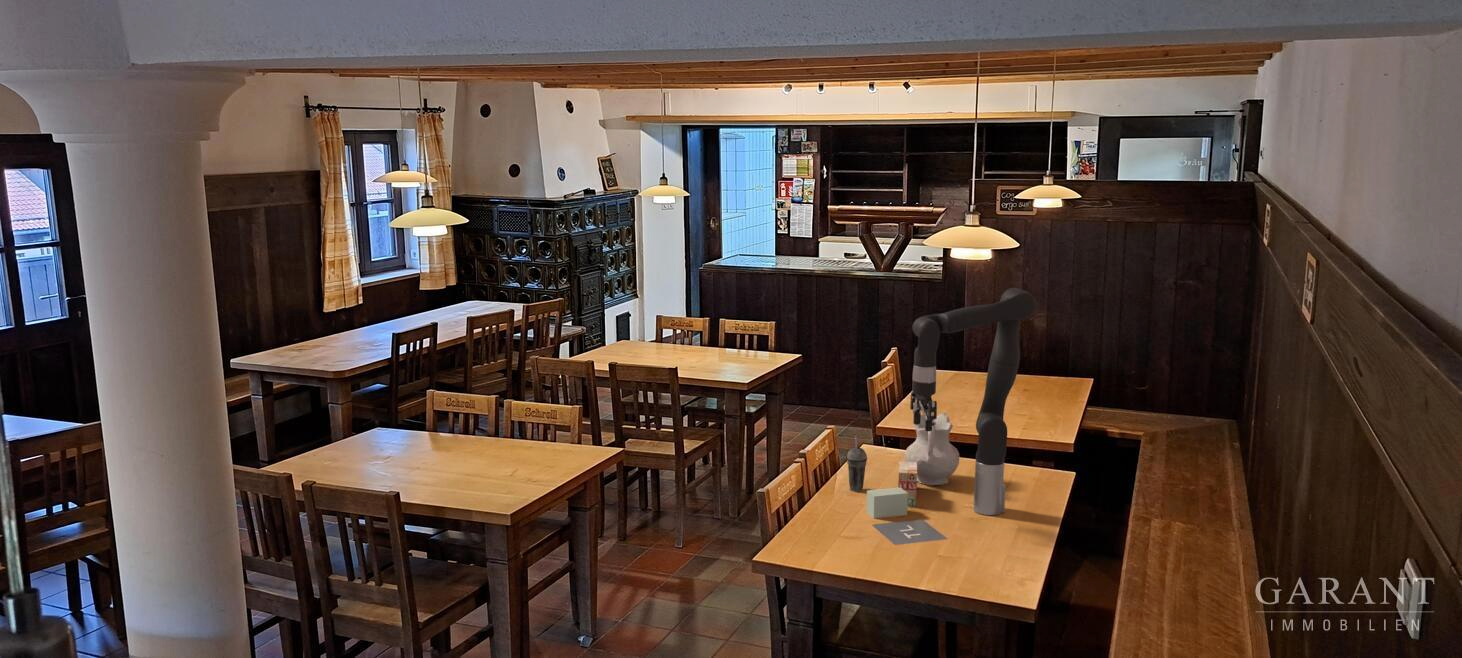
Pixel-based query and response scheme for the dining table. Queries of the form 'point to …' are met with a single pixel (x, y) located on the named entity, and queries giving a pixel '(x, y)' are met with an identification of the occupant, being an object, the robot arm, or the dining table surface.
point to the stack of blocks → (908, 480)
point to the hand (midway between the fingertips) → (922, 427)
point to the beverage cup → (856, 467)
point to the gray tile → (909, 532)
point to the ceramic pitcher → (933, 451)
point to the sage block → (887, 502)
